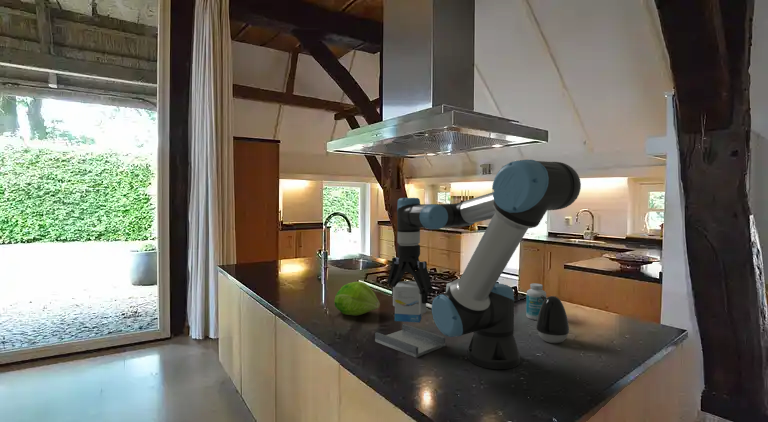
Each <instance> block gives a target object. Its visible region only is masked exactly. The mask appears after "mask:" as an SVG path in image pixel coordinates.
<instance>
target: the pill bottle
mask: <svg viewBox="0 0 768 422" xmlns="http://www.w3.org/2000/svg"><path fill="white" fill-rule="evenodd" d="M529 286H530V288H529V289H528V290H526V297H525V298H526V300H525V301H526V305H525V308H526V309H525V311H526V312H525V314H526V317H527V319H530V320H535V321H537V319H538V314H539V311H540V308H541V306H542V303H543V302H544V300H543V299H542V298H541V296H542V295H543V296H544V297H546V298H547V292H546V291H545V290H543V284H541V283H535V282H534V283H530V284H529Z"/></svg>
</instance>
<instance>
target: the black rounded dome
mask: <svg viewBox="0 0 768 422" xmlns="http://www.w3.org/2000/svg"><path fill="white" fill-rule="evenodd" d="M541 298H542V299H543V300H544V302H543V303H542V306H541V308H540V311H539V314H538V319H537V320H536V326H535V327H536V330H537V334H538V336H539V337H540V339H542V340H543V341H544V342H546V343H551V344H560V343H563V342H564V341H565V340H566V339H567V337H568V335H569V333H570V327H569V326H570V325H569V321H568V319H569V318H568V315H567V312H566V309H565V307H564V304H563V302H562V301H561V299H560V298H558V297H557V296H556V295H555V296H554V295H550V296H546V297H544V296H543V295H542V296H541Z"/></svg>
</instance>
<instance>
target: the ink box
mask: <svg viewBox="0 0 768 422" xmlns="http://www.w3.org/2000/svg"><path fill="white" fill-rule="evenodd" d="M419 293H421V292H420V290H419V287H418V285H417V283H416V281H411V280H410V281H407V280H406V281H405V280H404V281H399V282H398V284H397V285H396V286H395V306H394V322H403V323H404V322H405V323H407V322H408V323H421V320H422V319H423V315H424V313H422V314H419Z"/></svg>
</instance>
